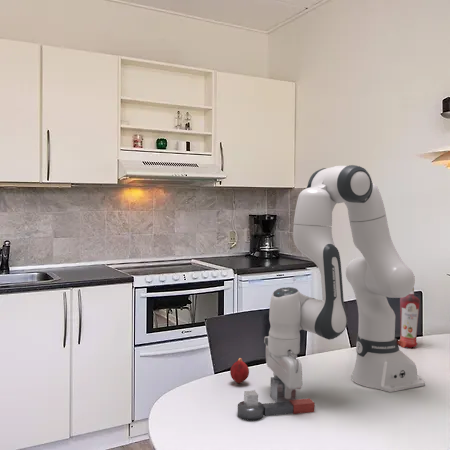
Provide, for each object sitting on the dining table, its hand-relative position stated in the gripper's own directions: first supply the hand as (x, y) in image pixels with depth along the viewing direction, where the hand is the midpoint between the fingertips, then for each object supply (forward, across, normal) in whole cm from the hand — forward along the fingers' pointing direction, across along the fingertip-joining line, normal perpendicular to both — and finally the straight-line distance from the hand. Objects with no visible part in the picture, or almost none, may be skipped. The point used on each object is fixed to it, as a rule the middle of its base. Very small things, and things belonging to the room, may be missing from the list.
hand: (282, 392), depth 142 cm
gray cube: (+2, 0, 0) cm, 2 cm away
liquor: (+2, +39, -67) cm, 78 cm away
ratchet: (+2, -8, +5) cm, 10 cm away
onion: (+2, +14, +9) cm, 17 cm away
